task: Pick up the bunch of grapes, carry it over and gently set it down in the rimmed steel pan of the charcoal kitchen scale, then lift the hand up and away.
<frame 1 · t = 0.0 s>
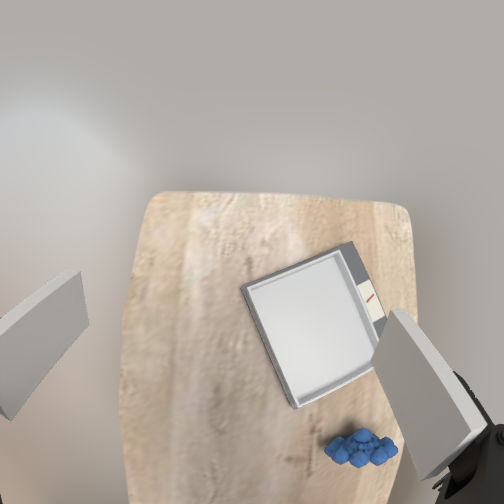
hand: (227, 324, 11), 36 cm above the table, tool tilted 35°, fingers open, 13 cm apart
grapes: (349, 434, 40), on the table
scale: (312, 328, 45), on the table
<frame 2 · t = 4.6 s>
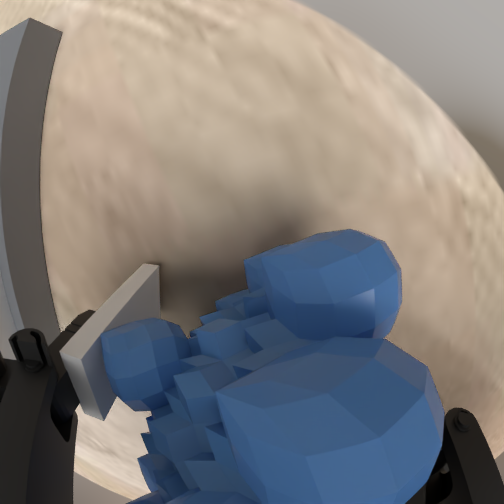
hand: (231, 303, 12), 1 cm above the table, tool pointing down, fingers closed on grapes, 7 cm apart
grapes: (233, 296, 13), on the table, touching gripper
when the fingers open (6 cm above the table, at t = 12.0 s): grapes drops 1 cm, resting on scale.
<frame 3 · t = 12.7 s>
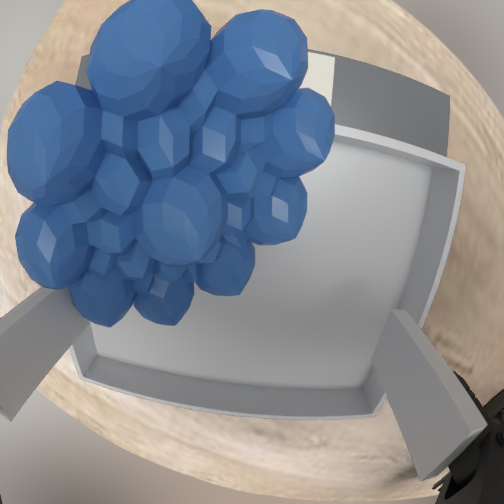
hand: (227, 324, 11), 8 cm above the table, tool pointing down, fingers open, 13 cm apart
grapes: (220, 269, 14), point 4 cm above the table, touching gripper, scale
scale: (242, 256, 18), on the table
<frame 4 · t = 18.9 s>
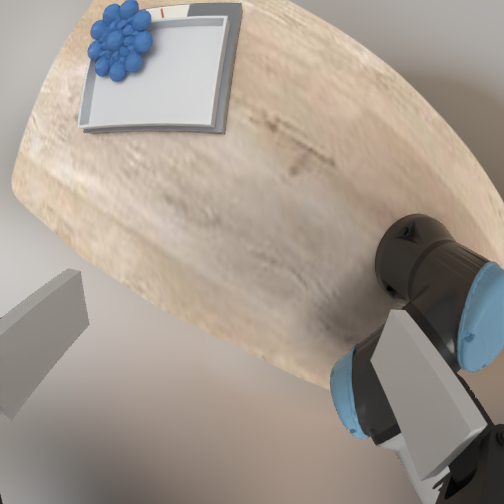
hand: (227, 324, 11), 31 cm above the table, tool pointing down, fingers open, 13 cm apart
grapes: (140, 71, 29), point 4 cm above the table, touching scale
scale: (159, 78, 34), on the table
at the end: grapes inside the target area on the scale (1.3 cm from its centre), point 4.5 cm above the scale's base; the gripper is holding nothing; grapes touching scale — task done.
